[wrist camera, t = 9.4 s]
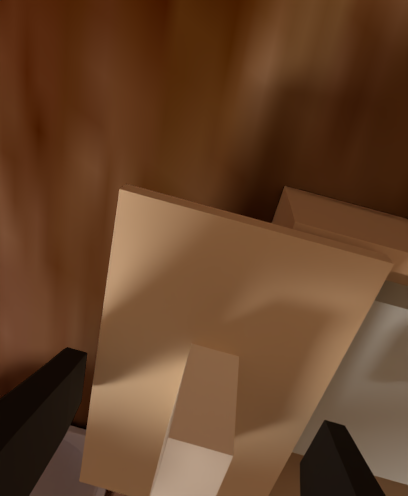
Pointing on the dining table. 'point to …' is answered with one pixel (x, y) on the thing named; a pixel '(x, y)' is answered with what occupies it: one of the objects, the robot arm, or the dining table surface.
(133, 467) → the flap
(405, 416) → the carton
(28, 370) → the dining table surface
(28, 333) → the dining table surface
